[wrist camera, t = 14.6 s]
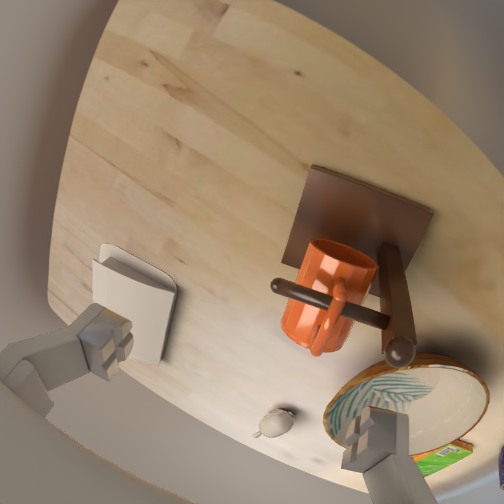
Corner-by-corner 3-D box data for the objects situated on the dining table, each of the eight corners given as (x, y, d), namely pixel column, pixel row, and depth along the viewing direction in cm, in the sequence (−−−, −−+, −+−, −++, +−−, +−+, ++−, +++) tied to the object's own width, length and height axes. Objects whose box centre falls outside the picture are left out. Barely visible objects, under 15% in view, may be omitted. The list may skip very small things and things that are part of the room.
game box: (472, 442, 47) (408, 477, 58) (448, 432, 48) (383, 470, 58) (473, 452, 45) (408, 487, 55) (450, 444, 45) (382, 480, 55)
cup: (285, 306, 34) (312, 232, 31) (342, 326, 33) (373, 254, 30) (267, 360, 24) (304, 263, 21) (344, 385, 23) (391, 294, 21)
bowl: (364, 432, 52) (360, 467, 45) (301, 355, 46) (290, 397, 39) (487, 394, 40) (494, 430, 33) (462, 293, 34) (478, 335, 27)
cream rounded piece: (267, 411, 50) (244, 424, 58) (280, 436, 48) (255, 445, 56) (294, 398, 53) (268, 414, 62) (307, 422, 51) (279, 434, 59)
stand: (311, 164, 33) (272, 236, 18) (430, 208, 31) (481, 311, 16) (283, 256, 39) (234, 367, 24) (388, 293, 37) (393, 415, 22)
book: (99, 327, 60) (88, 338, 56) (100, 237, 47) (85, 248, 44) (161, 364, 58) (152, 378, 55) (181, 280, 46) (168, 296, 43)
